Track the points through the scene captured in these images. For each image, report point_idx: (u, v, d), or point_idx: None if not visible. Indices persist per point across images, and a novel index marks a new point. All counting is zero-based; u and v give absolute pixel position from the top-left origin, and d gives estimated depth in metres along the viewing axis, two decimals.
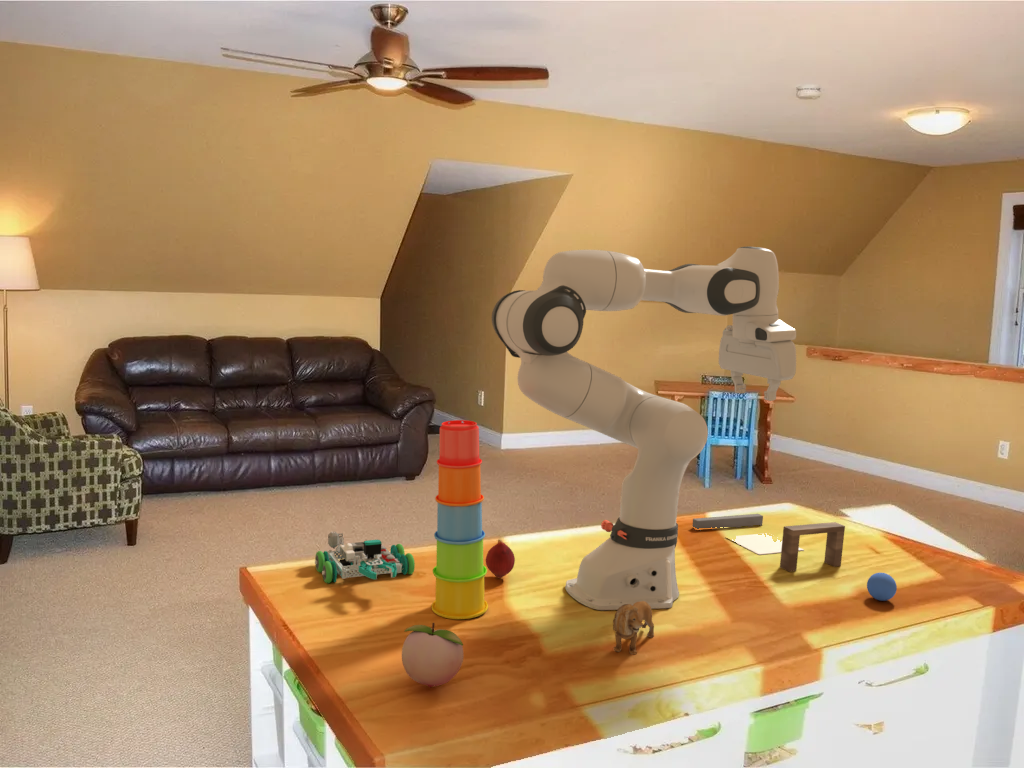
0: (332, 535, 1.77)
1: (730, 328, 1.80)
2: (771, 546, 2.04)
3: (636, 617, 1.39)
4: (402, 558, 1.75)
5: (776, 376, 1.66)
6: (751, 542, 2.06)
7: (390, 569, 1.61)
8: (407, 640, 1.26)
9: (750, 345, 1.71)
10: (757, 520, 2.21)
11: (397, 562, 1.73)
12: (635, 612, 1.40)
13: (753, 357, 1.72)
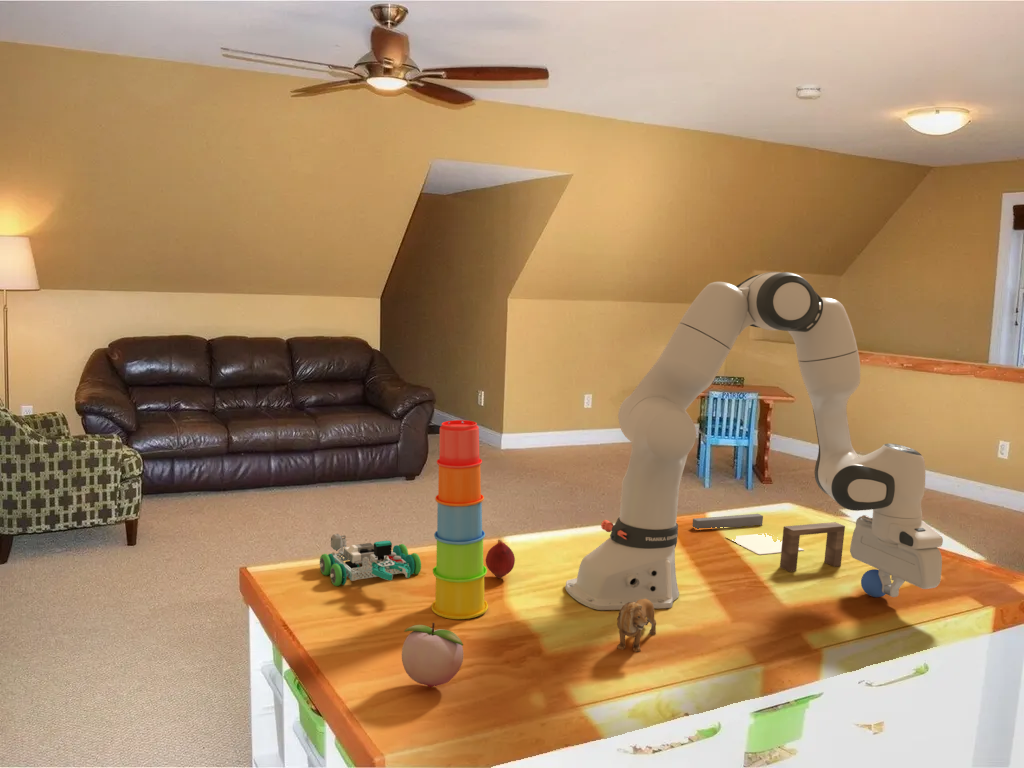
0: (335, 537, 1.76)
1: (866, 519, 1.76)
2: (771, 546, 2.04)
3: (641, 615, 1.40)
4: (408, 558, 1.75)
5: (920, 584, 1.62)
6: (751, 542, 2.06)
7: (403, 570, 1.61)
8: (407, 640, 1.26)
9: (891, 545, 1.67)
10: (757, 520, 2.21)
11: (404, 562, 1.73)
12: (639, 610, 1.41)
13: (893, 557, 1.68)
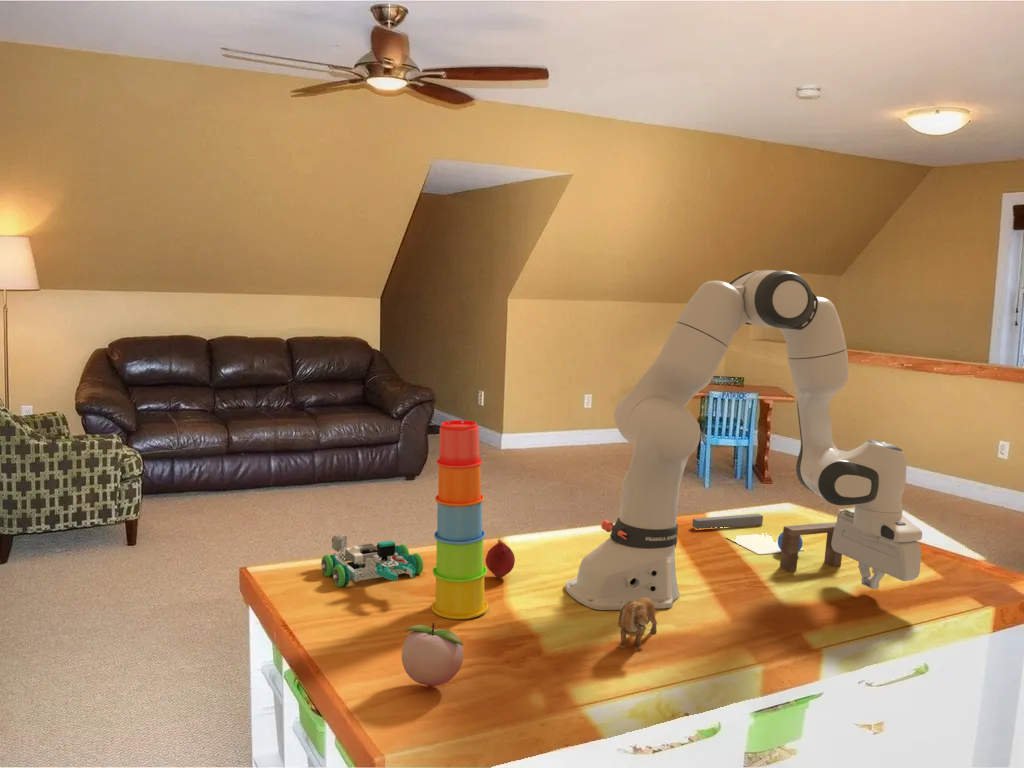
0: (337, 538, 1.75)
1: (847, 513, 1.81)
2: (771, 546, 2.04)
3: (642, 614, 1.41)
4: (410, 558, 1.75)
5: (900, 577, 1.67)
6: (751, 542, 2.06)
7: (408, 570, 1.61)
8: (407, 640, 1.26)
9: (872, 539, 1.72)
10: (757, 520, 2.21)
11: (406, 562, 1.73)
12: (641, 609, 1.42)
13: (874, 550, 1.73)
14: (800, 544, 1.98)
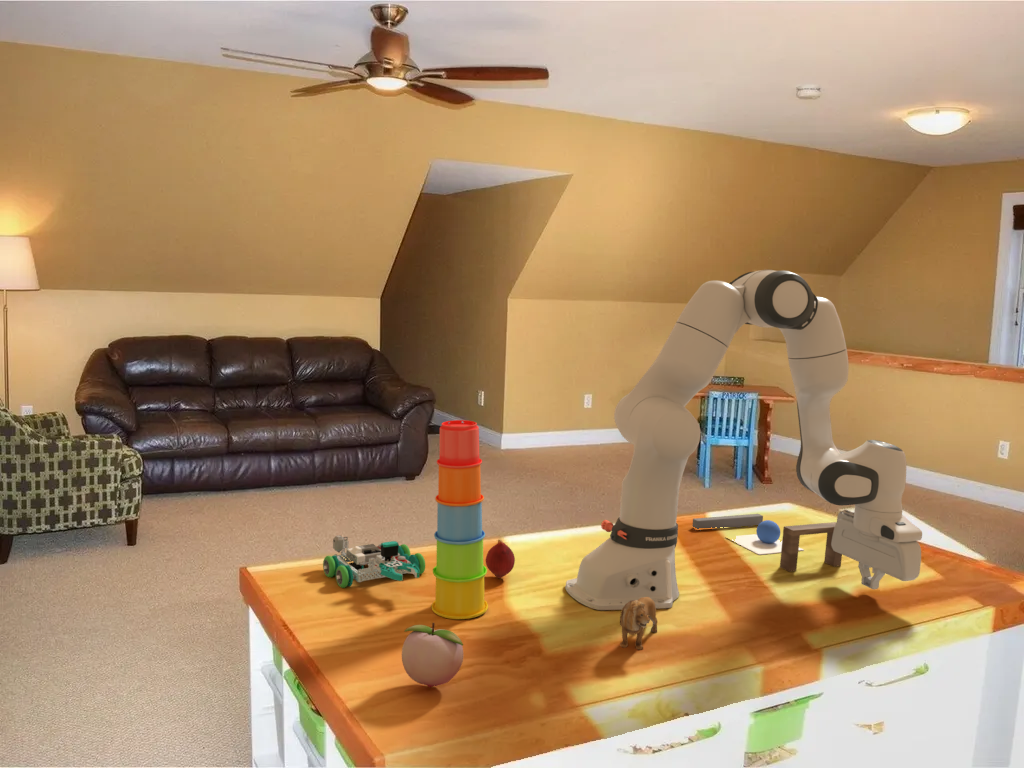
0: (338, 539, 1.75)
1: (847, 513, 1.81)
2: (771, 546, 2.04)
3: (643, 613, 1.41)
4: (411, 558, 1.75)
5: (900, 577, 1.67)
6: (751, 542, 2.06)
7: (412, 570, 1.61)
8: (407, 640, 1.26)
9: (872, 539, 1.72)
10: (757, 520, 2.21)
11: (408, 562, 1.73)
12: (642, 608, 1.42)
13: (874, 550, 1.73)
14: None
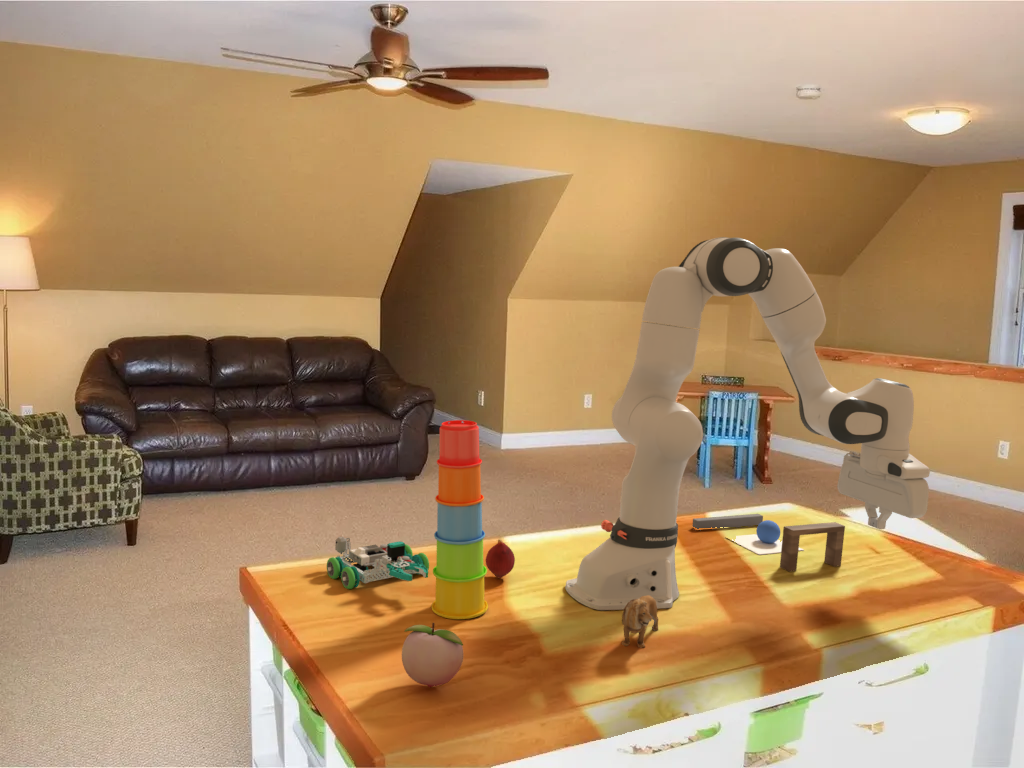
0: (341, 540, 1.74)
1: (853, 455, 1.79)
2: (771, 546, 2.04)
3: (646, 611, 1.42)
4: (415, 558, 1.75)
5: (907, 514, 1.65)
6: (751, 542, 2.06)
7: (420, 570, 1.62)
8: (407, 640, 1.26)
9: (879, 477, 1.70)
10: (757, 520, 2.21)
11: (413, 562, 1.73)
12: (644, 606, 1.43)
13: (881, 489, 1.71)
14: None
